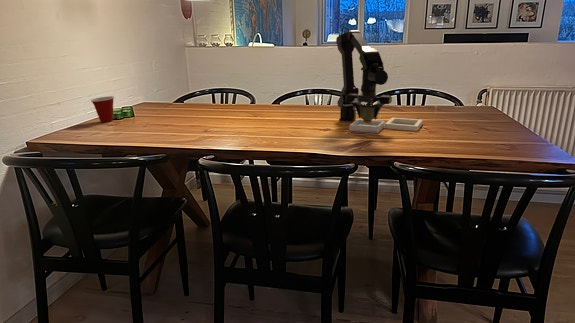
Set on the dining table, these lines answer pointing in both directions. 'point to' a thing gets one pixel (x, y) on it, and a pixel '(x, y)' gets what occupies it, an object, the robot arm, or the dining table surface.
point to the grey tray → (367, 126)
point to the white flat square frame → (415, 127)
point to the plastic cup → (104, 108)
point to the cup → (367, 113)
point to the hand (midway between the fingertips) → (367, 118)
